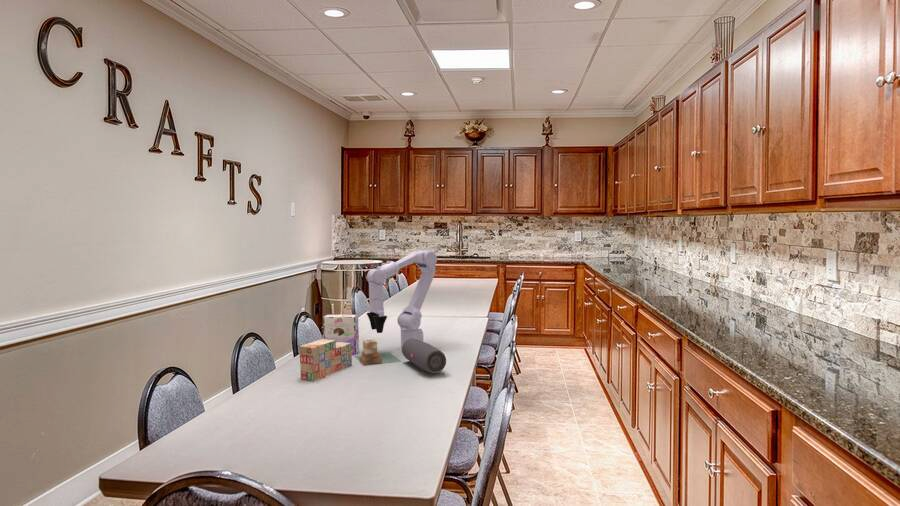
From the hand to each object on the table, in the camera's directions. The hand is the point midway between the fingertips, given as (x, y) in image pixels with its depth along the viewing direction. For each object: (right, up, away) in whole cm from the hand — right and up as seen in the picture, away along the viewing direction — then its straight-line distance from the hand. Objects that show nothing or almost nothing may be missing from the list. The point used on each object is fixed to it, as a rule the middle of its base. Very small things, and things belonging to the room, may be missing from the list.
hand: (377, 331), depth 227 cm
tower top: (-1, -9, -11) cm, 14 cm away
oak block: (-1, -7, -11) cm, 13 cm away
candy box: (-15, -10, +4) cm, 19 cm away
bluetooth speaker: (+20, -12, -19) cm, 30 cm away
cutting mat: (+1, -11, -6) cm, 12 cm away
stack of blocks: (-15, -12, -23) cm, 31 cm away
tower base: (-1, -11, -11) cm, 15 cm away
